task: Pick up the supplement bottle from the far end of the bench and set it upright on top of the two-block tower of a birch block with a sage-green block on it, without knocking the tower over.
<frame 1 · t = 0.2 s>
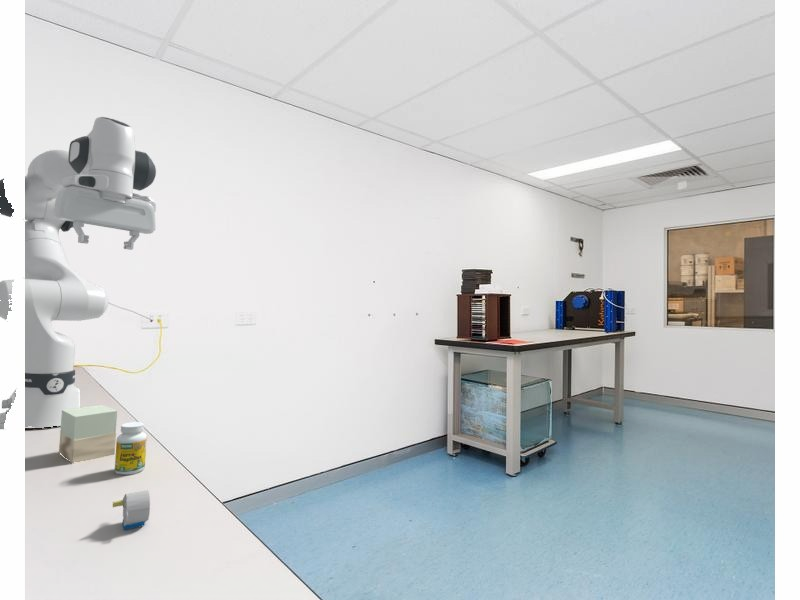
hand: (106, 246, 102), 47 cm above the table, tool pointing down, fingers open, 8 cm apart
tower top block: (88, 432, 97), point 5 cm above the table, touching tower bottom block
electric motor: (129, 527, 69), on the table
supplement bottle: (129, 471, 90), on the table
tower bottom block: (86, 455, 97), on the table, touching tower top block
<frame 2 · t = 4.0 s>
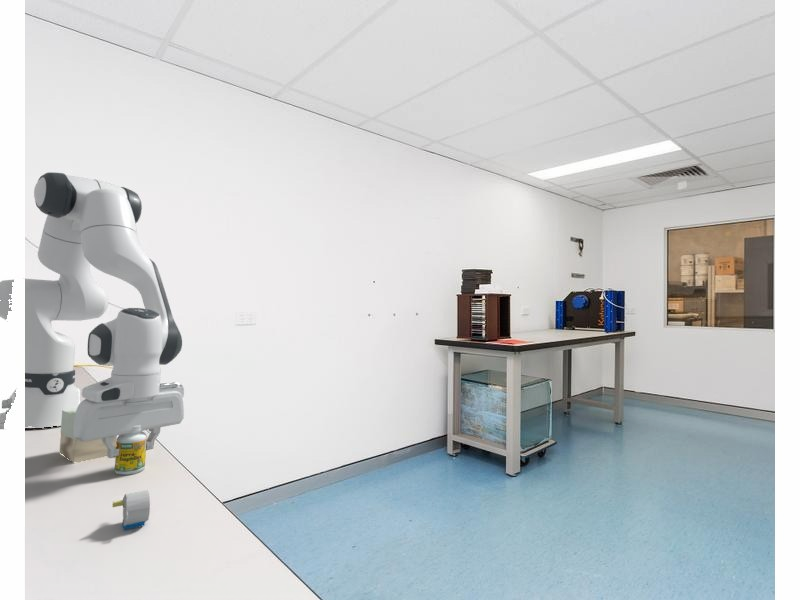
hand: (130, 453, 90), 4 cm above the table, tool pointing down, fingers closed on supplement bottle, 5 cm apart
supplement bottle: (129, 471, 90), on the table, touching gripper
everything else where it was.
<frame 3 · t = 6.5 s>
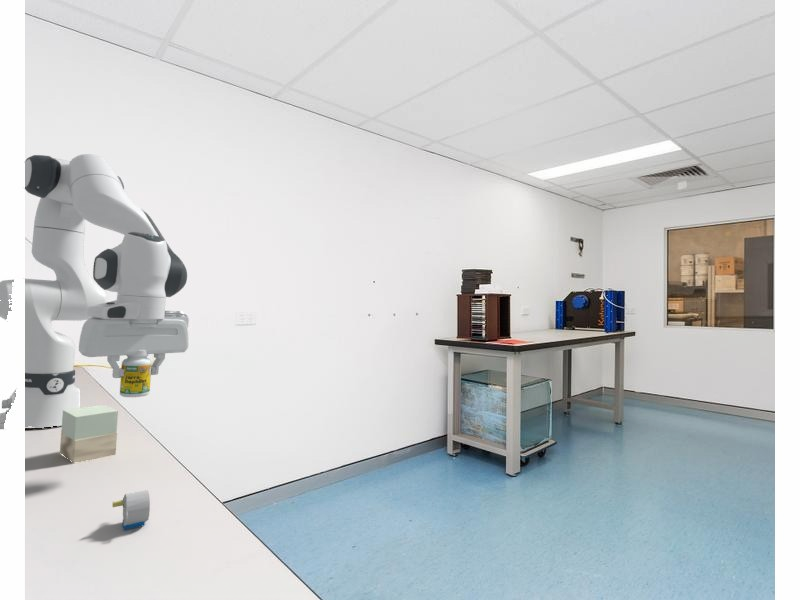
hand: (135, 376, 90), 20 cm above the table, tool pointing down, fingers closed on supplement bottle, 5 cm apart
supplement bottle: (134, 395, 90), point 15 cm above the table, touching gripper
everything else where it was.
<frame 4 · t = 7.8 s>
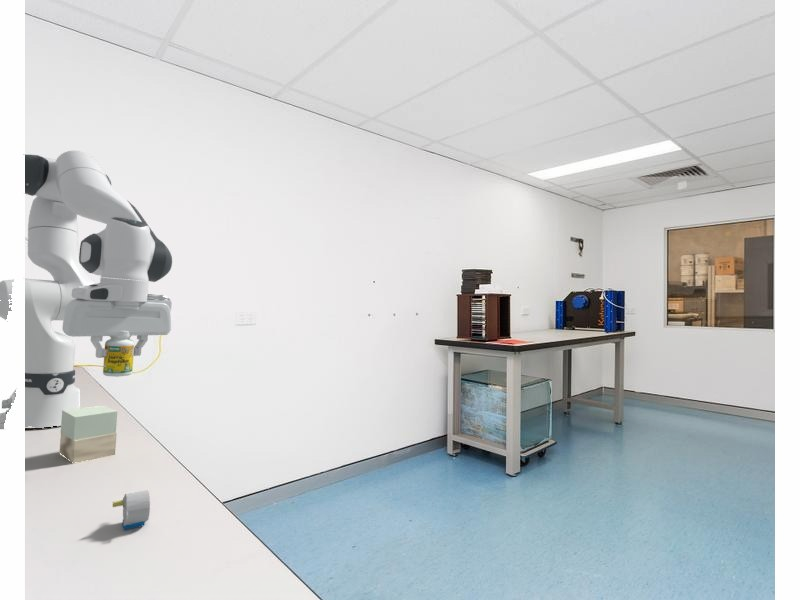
hand: (118, 356, 94), 23 cm above the table, tool pointing down, fingers closed on supplement bottle, 5 cm apart
supplement bottle: (117, 375, 94), point 19 cm above the table, touching gripper
everything else where it was.
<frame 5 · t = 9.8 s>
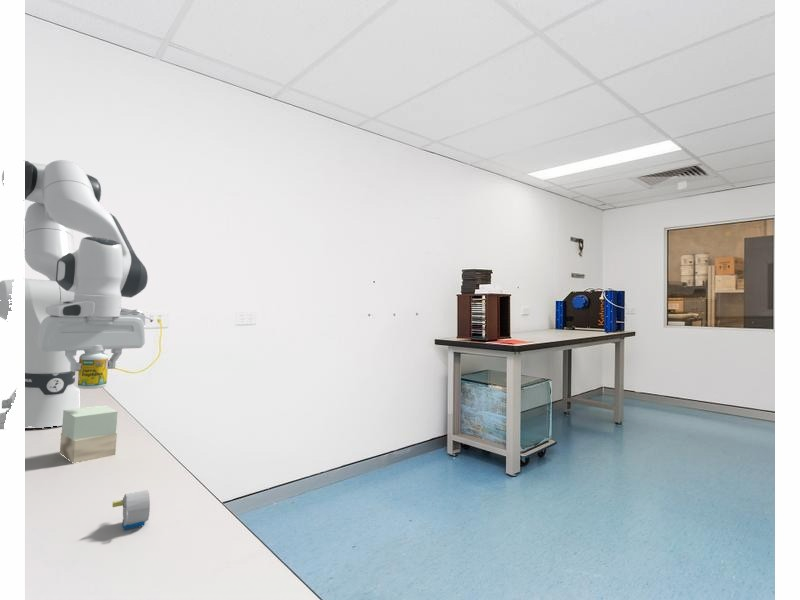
hand: (93, 369, 98), 19 cm above the table, tool pointing down, fingers closed on supplement bottle, 5 cm apart
supplement bottle: (92, 388, 98), point 15 cm above the table, touching gripper
everything else where it was.
when the fingers open (15 cm above the table, at t = 11.6 s): supplement bottle drops 1 cm, resting on tower top block.
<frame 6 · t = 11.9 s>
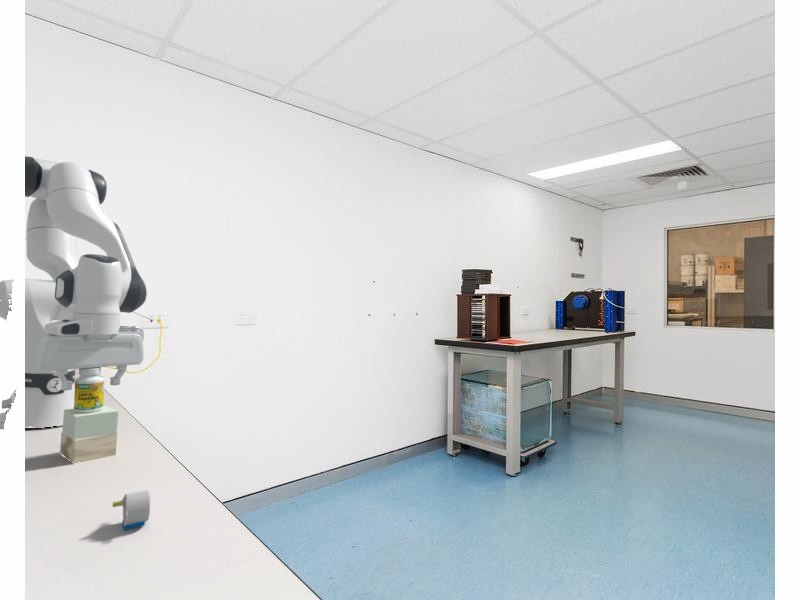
hand: (91, 387, 98), 15 cm above the table, tool pointing down, fingers open, 8 cm apart
tower top block: (89, 432, 97), point 5 cm above the table, touching supplement bottle, tower bottom block
supplement bottle: (88, 411, 97), point 10 cm above the table, touching tower top block
everything else where it was.
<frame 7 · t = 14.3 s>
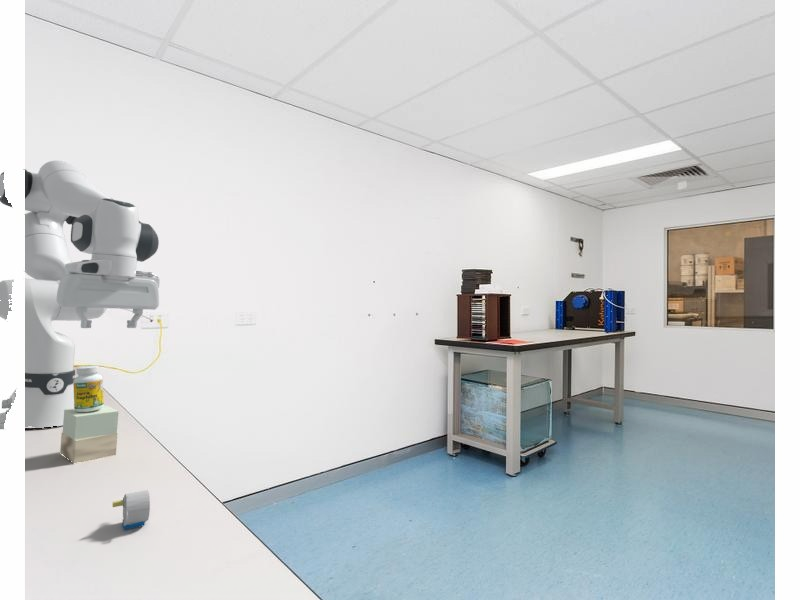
hand: (109, 327, 101), 28 cm above the table, tool pointing down, fingers open, 8 cm apart
tower top block: (89, 432, 97), point 5 cm above the table, touching tower bottom block
supplement bottle: (89, 410, 97), point 10 cm above the table
everything else where it was.
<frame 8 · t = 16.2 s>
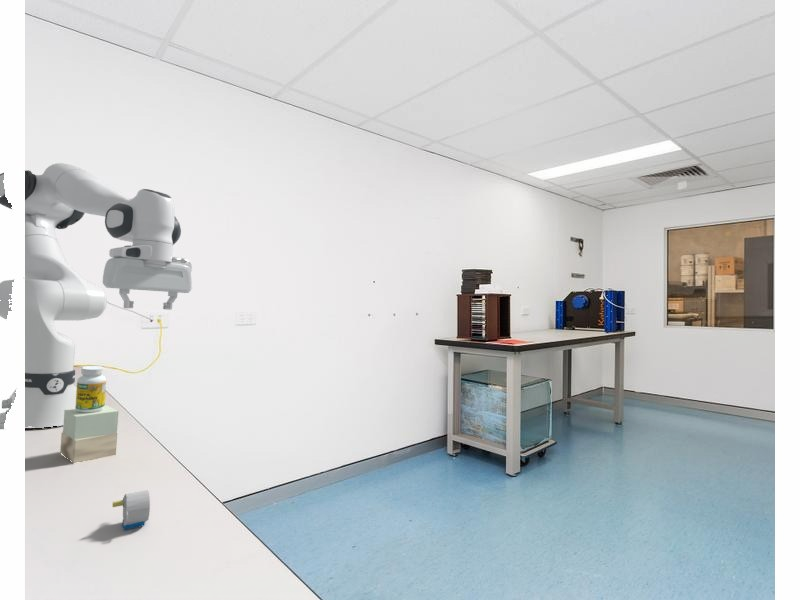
hand: (148, 308, 109), 33 cm above the table, tool pointing down, fingers open, 8 cm apart
at the end: supplement bottle 0.4 cm from the tower top block (horizontally); supplement bottle point 10.2 cm above the table; tower top block moved 0.3 cm from its start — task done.
